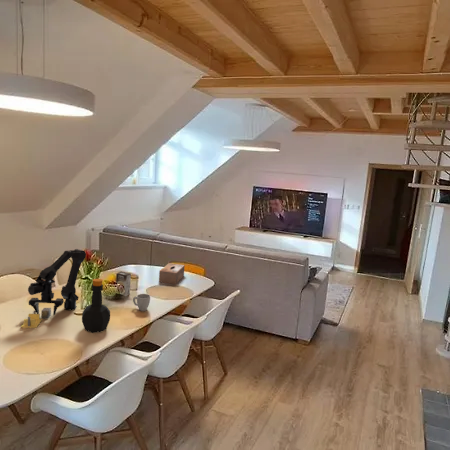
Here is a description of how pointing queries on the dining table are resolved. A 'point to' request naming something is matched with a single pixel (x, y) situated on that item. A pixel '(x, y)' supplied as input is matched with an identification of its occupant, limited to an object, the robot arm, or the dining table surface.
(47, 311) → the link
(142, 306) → the mug
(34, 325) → the keeper
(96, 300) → the bottle
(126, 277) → the coffee box
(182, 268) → the tissue box cover
